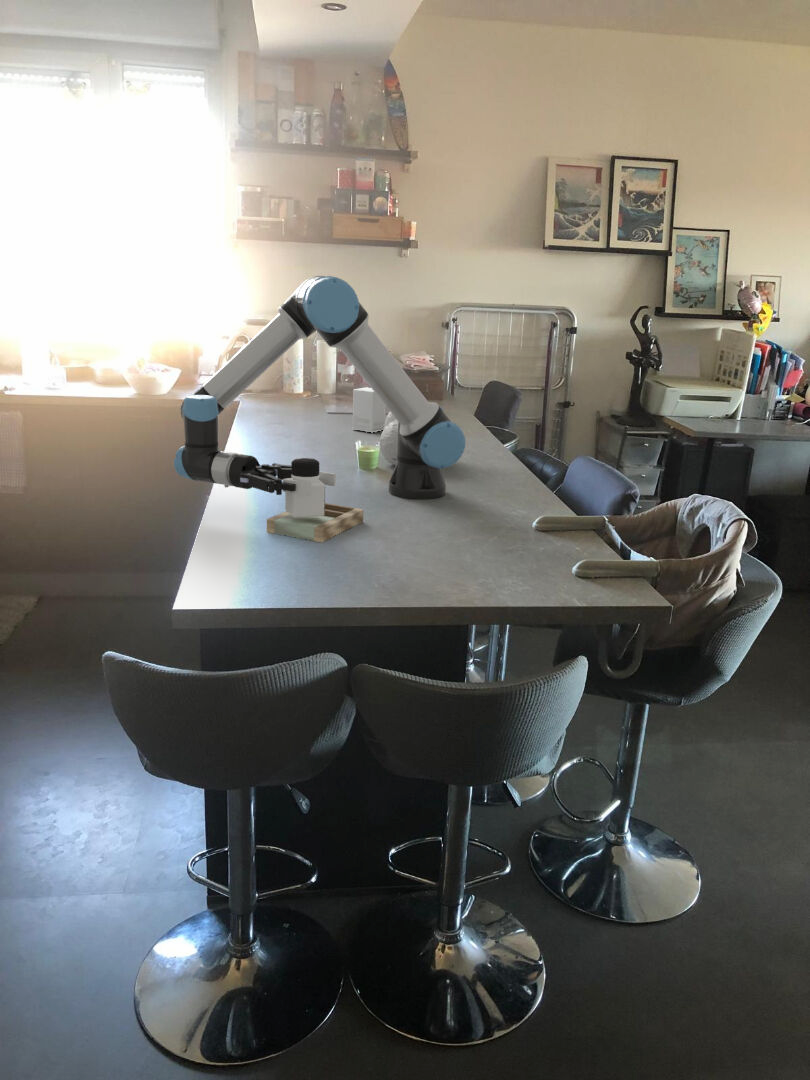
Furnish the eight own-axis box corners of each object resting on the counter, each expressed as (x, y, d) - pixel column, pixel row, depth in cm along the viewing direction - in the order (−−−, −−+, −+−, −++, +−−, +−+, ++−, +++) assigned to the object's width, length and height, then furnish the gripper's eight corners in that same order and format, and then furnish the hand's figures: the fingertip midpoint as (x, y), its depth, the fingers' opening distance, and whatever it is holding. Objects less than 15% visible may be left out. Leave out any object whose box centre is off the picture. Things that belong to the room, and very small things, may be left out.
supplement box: (386, 430, 317) (387, 389, 312) (372, 433, 309) (373, 391, 305) (365, 427, 321) (366, 386, 317) (351, 430, 314) (352, 388, 309)
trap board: (311, 512, 208) (311, 500, 207) (363, 521, 202) (363, 509, 201) (266, 532, 191) (266, 519, 190) (321, 542, 186) (322, 529, 185)
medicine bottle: (324, 516, 189) (326, 462, 186) (293, 518, 187) (293, 463, 183) (315, 507, 196) (316, 455, 192) (284, 509, 193) (285, 456, 189)
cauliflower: (370, 447, 250) (405, 380, 252) (364, 459, 275) (395, 399, 277) (433, 480, 252) (467, 414, 254) (421, 489, 277) (452, 429, 279)
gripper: (264, 477, 207) (347, 490, 198) (206, 496, 187) (295, 512, 179) (264, 446, 205) (348, 458, 196) (205, 462, 185) (295, 477, 176)
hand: (322, 484), depth 187 cm, fingers closed on medicine bottle, 10 cm apart
